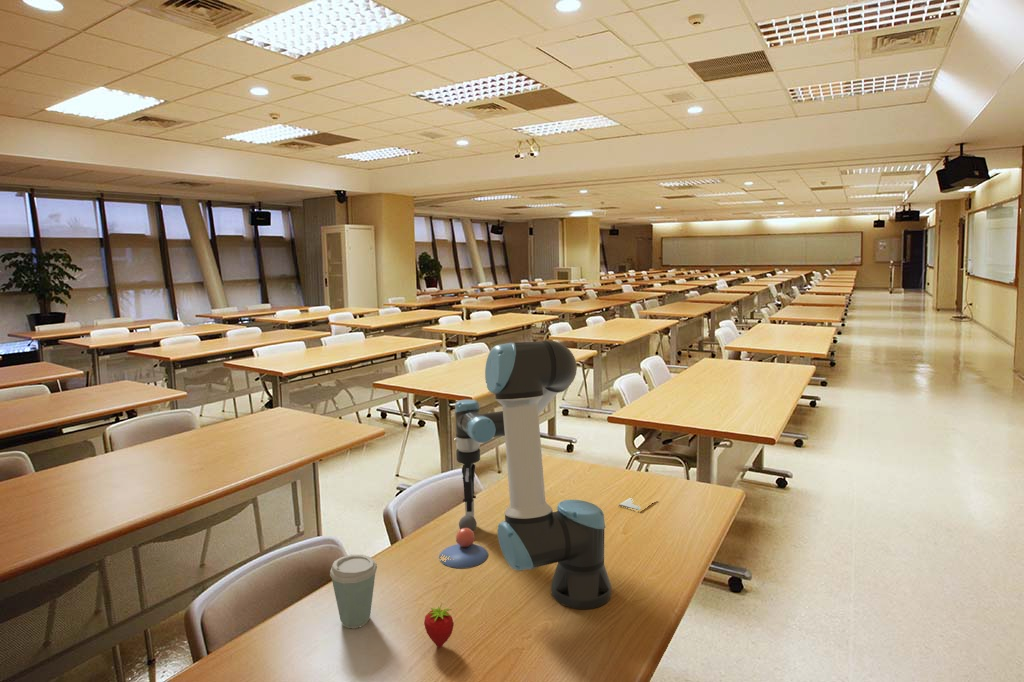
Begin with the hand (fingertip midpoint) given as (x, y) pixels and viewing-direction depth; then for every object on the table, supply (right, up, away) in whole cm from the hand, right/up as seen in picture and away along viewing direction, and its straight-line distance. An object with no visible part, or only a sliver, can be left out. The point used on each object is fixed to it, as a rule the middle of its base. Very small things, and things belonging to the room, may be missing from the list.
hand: (470, 519), depth 187 cm
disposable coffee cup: (-23, -9, -50) cm, 56 cm away
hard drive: (+57, 0, +15) cm, 59 cm away
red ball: (0, -1, -14) cm, 14 cm away
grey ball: (0, 0, -6) cm, 6 cm away
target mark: (0, -4, -20) cm, 20 cm away
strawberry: (-2, -10, -59) cm, 60 cm away
